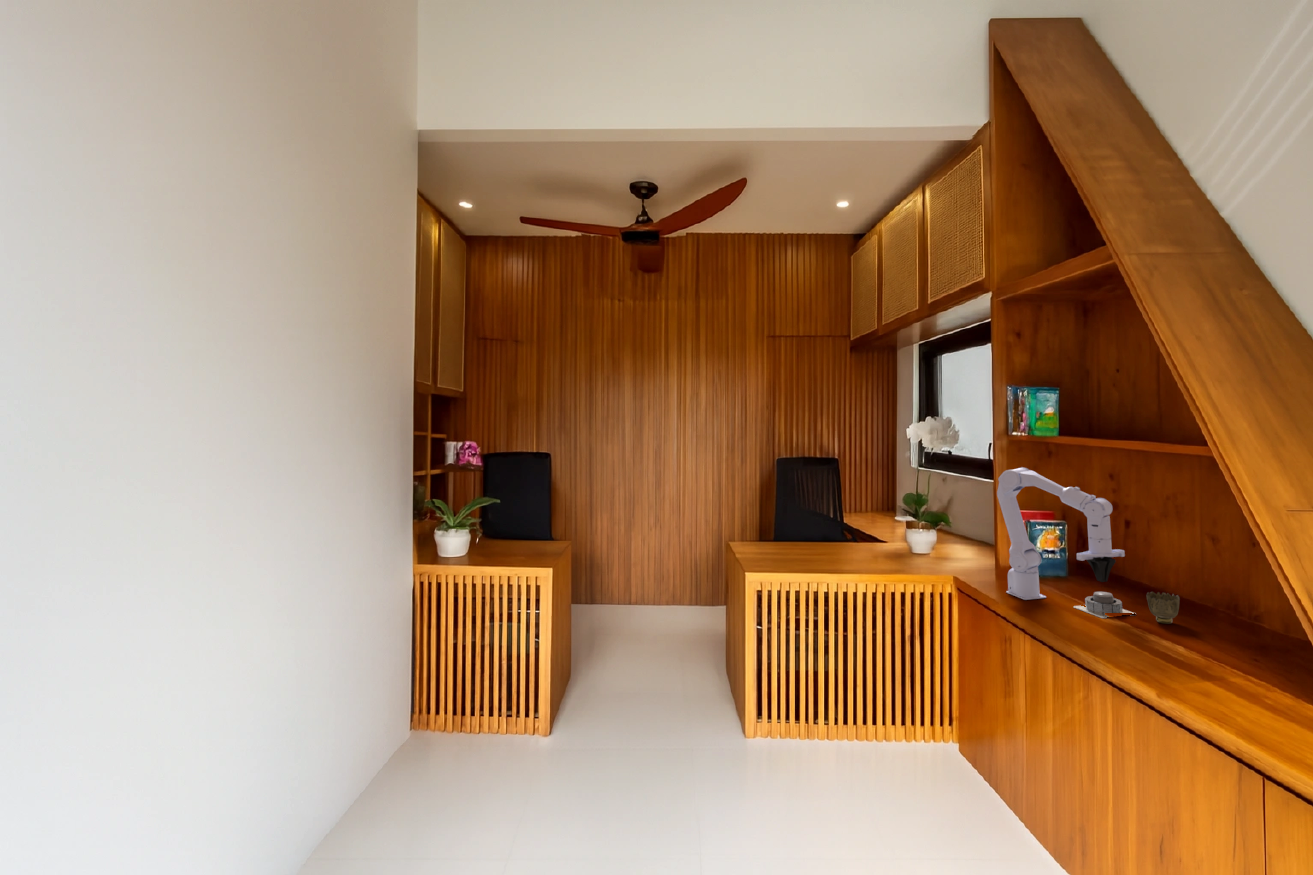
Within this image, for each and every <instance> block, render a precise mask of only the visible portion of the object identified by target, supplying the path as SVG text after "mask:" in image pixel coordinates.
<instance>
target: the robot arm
mask: <svg viewBox="0 0 1313 875" xmlns="http://www.w3.org/2000/svg"><path fill="white" fill-rule="evenodd" d="M997 479H998V486H997V491H996V496H997V499H998V503H999V507H1000V509H1001V513H1002V517H1003V519H1004V523H1005V526H1006V529H1007V533H1008V536H1009V540H1010V543H1011V544H1010V548H1009V549H1008V553H1009V558H1008V559H1009V560H1008V562H1009V565H1010V567H1011V568H1010V569H1009V570H1008V572H1007V590H1006V592H1005V593H1007V594H1009V595H1011V596H1015V597H1017V598H1019V599H1022V600H1024V601H1027V600H1037V599H1038V600H1039V599H1046V598H1047V596H1046V595H1044V594H1042V593H1040V577H1039V575H1040V574H1039V566H1040V565H1041V563H1042V556H1041V554H1040V553H1039V552H1038V551H1037V549H1036V545H1034V543H1033V542H1031V541H1030V539H1029V536H1028V533H1027V529H1026V525H1025V523H1024V519H1023V516H1022V512H1021V509H1020V506H1019V503H1018V502H1019V501H1018V500H1017V495H1018V494H1019V493H1020V492H1021V490H1023V489H1024V488H1025V487H1036V488H1038V489H1041V490H1043V491H1046V492H1047V493H1049V494H1052V495H1055V496H1057V497H1059V499H1060V501H1061V503H1063V504H1065V505H1067V506H1069V507H1072V508H1074V509H1076V510H1078V511H1080V512H1081V513H1083V515H1084V516H1085V517H1086V519H1087V523H1086V524H1087V537H1088V550H1086V551H1083V552H1077V553H1076V560H1077V561H1082V562H1083V561H1085V560H1086V561H1087V563H1088V565H1089V566H1090V567H1091V569H1092V571H1093V573H1094V577H1095V578H1096V581H1097V582H1100V583H1106V582H1108V581H1109V578H1110V577H1109V576H1110V573H1111V570H1112V569H1113V566H1114V565H1115V564H1116V562H1117V561H1116V559H1115V558H1117V557H1121V558H1123V557H1125V556H1126V554H1125V552H1126V551H1125V550H1124V549H1118V548H1117V549H1116V548H1115V549H1112V548H1113V547H1112V531H1111V530H1112V529H1111V518H1110V517H1111V516H1110V515H1111V514H1112V513H1113V511H1114V510H1113V508H1114V507H1113V505H1112V503H1111V502H1110V501H1109V500H1107V499H1106V498H1104V497H1097V495H1094V494H1089V493H1086V492H1084V491H1082V490H1081V488H1080V487H1079V486H1075V487H1073V486H1068V487H1065V486H1062V485H1060V484H1059V483H1056V482H1055V481H1053V480H1050V478H1049V479H1048V478H1046V477H1045V476H1043V475H1041V474H1039V473H1038V472H1036V471H1034V470H1031V469H1029V468H1027V467H1018V468H1014V469H1006V470H1004V471H1003V472H1002V473H1001V474H1000V476H999V477H998V478H997ZM1096 497H1097V498H1096ZM1114 557H1115V558H1114Z"/></svg>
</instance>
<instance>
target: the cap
mask: <svg viewBox="0 0 1313 875" xmlns="http://www.w3.org/2000/svg"><path fill="white" fill-rule="evenodd" d="M1092 596H1093V599H1094V602H1098V603H1108V604H1110V603H1114V599H1113V598H1114V596H1113V593H1111V592H1107V591H1094V592H1093V595H1092Z"/></svg>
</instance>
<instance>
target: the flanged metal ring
mask: <svg viewBox="0 0 1313 875" xmlns="http://www.w3.org/2000/svg"><path fill="white" fill-rule="evenodd" d="M1113 599H1114V603H1110V604H1108V603H1098V602H1094V599H1093V595H1091V596H1090V595H1089V596H1086V597H1085V598H1084V602H1085V603H1084V605H1085V606H1086V607H1084V606H1081V605H1082V604H1081V605H1074V606H1073V608H1074V609H1077V610H1080V611H1083V612H1085V613H1087V614H1090V615H1092V616H1095V617H1097V618H1101V619H1108V618H1107V617H1109V616H1107V615H1105V613H1132V614H1134V613H1135V614H1136V615H1137V613H1136V612H1132V611H1130V610H1127V609H1124V608H1123V602H1122V601H1121V599H1117V598H1115V597H1113Z"/></svg>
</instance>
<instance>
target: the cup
mask: <svg viewBox="0 0 1313 875" xmlns="http://www.w3.org/2000/svg"><path fill="white" fill-rule="evenodd" d="M1145 595H1146V600H1147V605H1148V608H1149V612H1150V613H1151V614H1152V615H1153V616H1155V621H1156V622H1157V623H1160V624H1164V625H1165V624H1167V625H1169V624H1172V623H1173V620H1174V618H1176V617H1177V616H1178V614H1179V609H1180V600H1181V597H1180V596H1179V594H1177V595H1175V594H1174V593H1172V594H1170V593H1169V592H1167V593H1166V592H1163V591H1162V593H1160V592H1159V591H1158V592H1156V593H1155V592H1154V591H1150V592H1149V591H1148V592H1146V593H1145Z"/></svg>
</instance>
